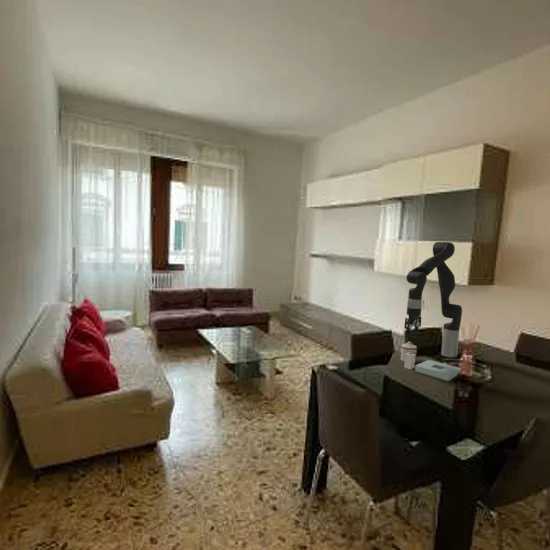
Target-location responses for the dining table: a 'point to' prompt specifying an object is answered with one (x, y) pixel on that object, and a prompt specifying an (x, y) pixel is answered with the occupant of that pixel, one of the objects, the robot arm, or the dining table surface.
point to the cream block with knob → (409, 361)
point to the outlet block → (437, 370)
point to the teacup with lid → (408, 350)
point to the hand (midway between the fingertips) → (412, 335)
